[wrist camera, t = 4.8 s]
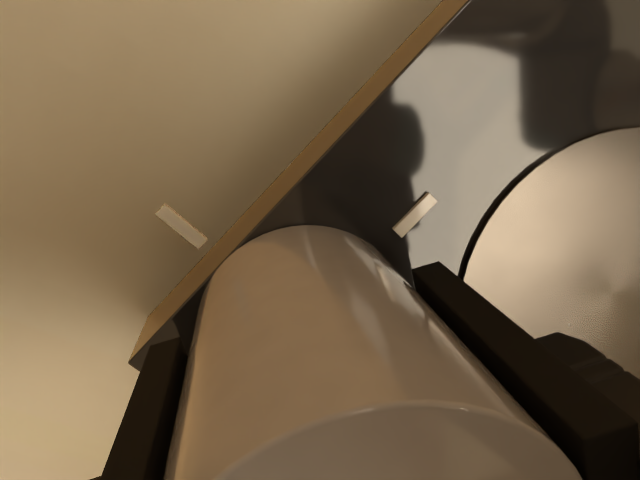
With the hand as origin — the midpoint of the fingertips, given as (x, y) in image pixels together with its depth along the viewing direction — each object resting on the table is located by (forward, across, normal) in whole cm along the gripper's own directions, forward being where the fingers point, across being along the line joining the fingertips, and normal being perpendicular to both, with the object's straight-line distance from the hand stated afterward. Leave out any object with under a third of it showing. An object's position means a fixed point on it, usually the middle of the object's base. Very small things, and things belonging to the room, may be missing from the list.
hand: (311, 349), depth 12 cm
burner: (+1, +9, -2) cm, 10 cm away
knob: (+1, 0, 0) cm, 1 cm away
